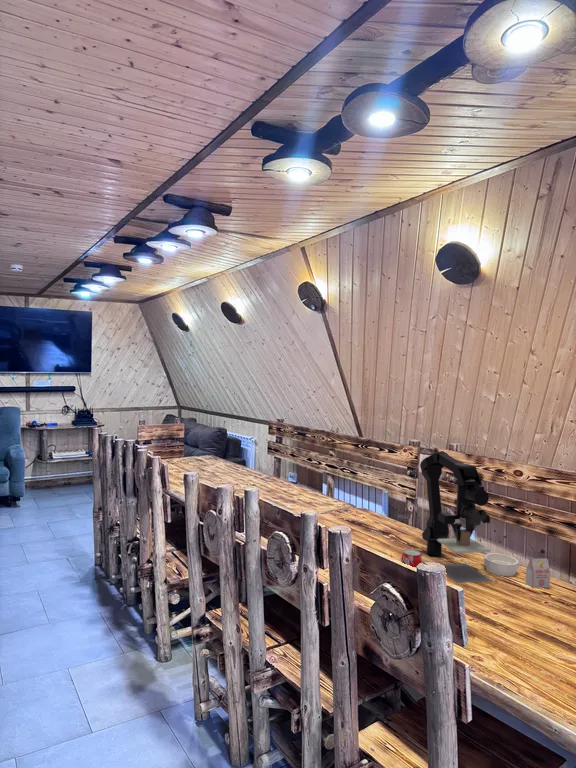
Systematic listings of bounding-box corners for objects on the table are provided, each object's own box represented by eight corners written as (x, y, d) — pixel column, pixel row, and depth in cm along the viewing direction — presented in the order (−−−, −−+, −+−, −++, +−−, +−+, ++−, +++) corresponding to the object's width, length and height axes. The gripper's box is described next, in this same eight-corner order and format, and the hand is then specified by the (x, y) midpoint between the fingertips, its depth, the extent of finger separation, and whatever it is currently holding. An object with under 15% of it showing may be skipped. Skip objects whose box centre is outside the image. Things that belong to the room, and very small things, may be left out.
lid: (437, 540, 196) (437, 525, 195) (468, 539, 198) (469, 525, 198) (456, 553, 182) (456, 537, 182) (489, 551, 185) (490, 535, 185)
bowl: (477, 566, 199) (477, 553, 199) (504, 565, 201) (505, 552, 201) (496, 578, 187) (496, 565, 187) (524, 577, 190) (525, 564, 190)
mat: (433, 566, 197) (433, 564, 197) (465, 564, 201) (465, 563, 201) (456, 584, 181) (456, 582, 181) (491, 582, 184) (491, 580, 184)
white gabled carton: (525, 584, 183) (526, 557, 183) (542, 584, 184) (543, 556, 184) (532, 589, 179) (533, 560, 179) (549, 588, 180) (550, 560, 180)
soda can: (421, 591, 173) (423, 556, 173) (400, 589, 175) (401, 554, 175) (420, 583, 180) (422, 549, 180) (400, 581, 182) (401, 547, 182)
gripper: (453, 505, 180) (451, 548, 181) (500, 504, 184) (498, 546, 185) (437, 497, 191) (436, 538, 191) (482, 496, 195) (480, 537, 195)
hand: (463, 540), depth 190 cm, fingers closed on lid, 3 cm apart
